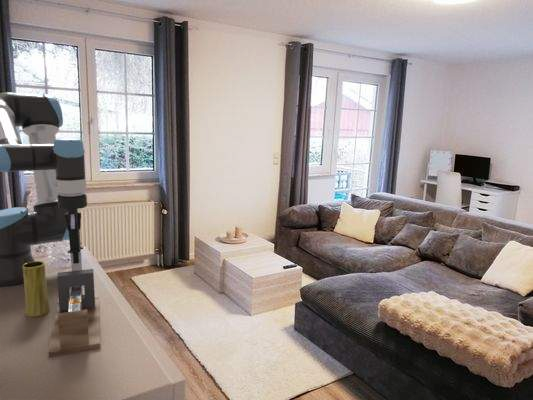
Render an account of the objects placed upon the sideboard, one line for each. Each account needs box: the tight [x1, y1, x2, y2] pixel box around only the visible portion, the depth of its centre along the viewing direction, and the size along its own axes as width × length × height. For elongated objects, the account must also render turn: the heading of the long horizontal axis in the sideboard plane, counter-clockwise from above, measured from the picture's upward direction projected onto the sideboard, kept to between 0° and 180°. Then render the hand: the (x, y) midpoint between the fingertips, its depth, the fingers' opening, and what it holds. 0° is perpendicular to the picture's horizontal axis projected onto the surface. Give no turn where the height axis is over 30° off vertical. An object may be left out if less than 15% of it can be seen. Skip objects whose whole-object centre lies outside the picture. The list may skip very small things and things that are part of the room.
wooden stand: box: [47, 293, 101, 358], centre depth 105 cm, size 27×11×9 cm, turn 23°
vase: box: [22, 260, 51, 318], centre depth 111 cm, size 6×6×14 cm
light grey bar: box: [68, 286, 83, 312], centre depth 105 cm, size 22×3×3 cm, turn 23°
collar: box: [56, 268, 96, 311], centre depth 111 cm, size 3×9×10 cm, turn 113°
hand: (77, 272), depth 117 cm, fingers closed
